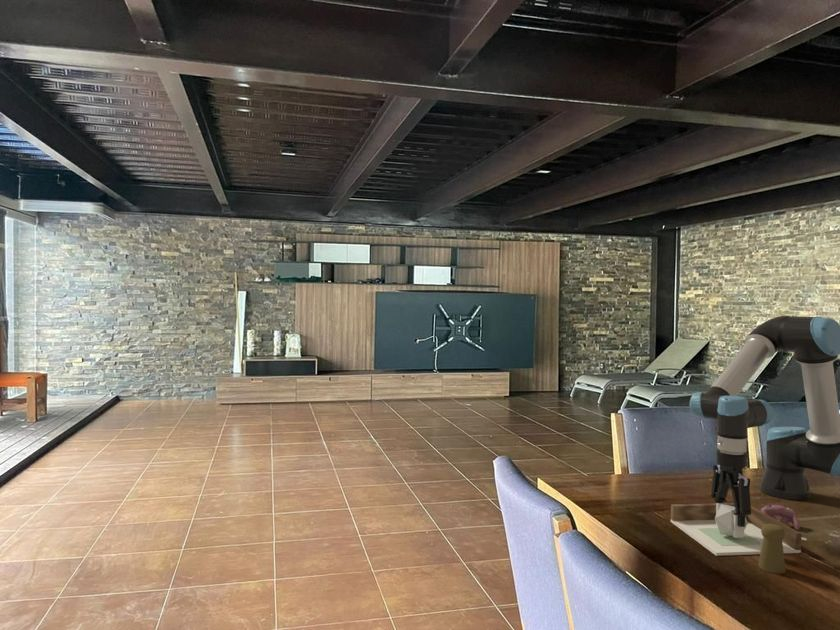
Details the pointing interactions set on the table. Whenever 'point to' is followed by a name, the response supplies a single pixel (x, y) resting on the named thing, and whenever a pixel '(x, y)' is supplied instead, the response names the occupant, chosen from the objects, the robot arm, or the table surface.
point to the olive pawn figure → (772, 549)
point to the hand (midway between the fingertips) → (729, 530)
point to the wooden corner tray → (704, 530)
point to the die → (726, 519)
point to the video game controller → (782, 514)
